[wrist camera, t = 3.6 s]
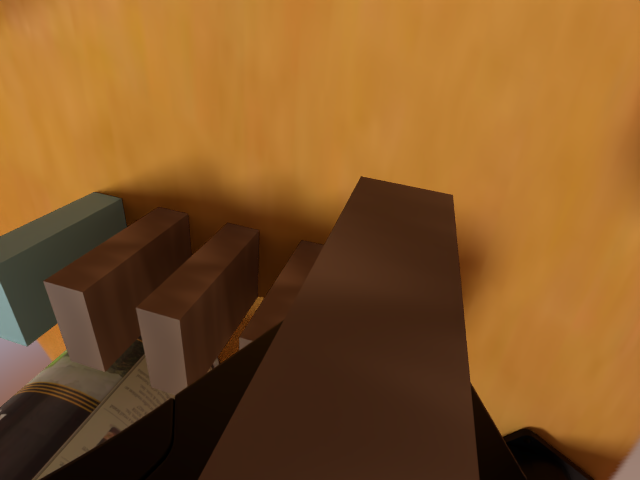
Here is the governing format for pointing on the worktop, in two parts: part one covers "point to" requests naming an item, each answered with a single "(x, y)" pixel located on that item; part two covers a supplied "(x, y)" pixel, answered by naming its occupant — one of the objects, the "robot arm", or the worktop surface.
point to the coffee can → (73, 412)
